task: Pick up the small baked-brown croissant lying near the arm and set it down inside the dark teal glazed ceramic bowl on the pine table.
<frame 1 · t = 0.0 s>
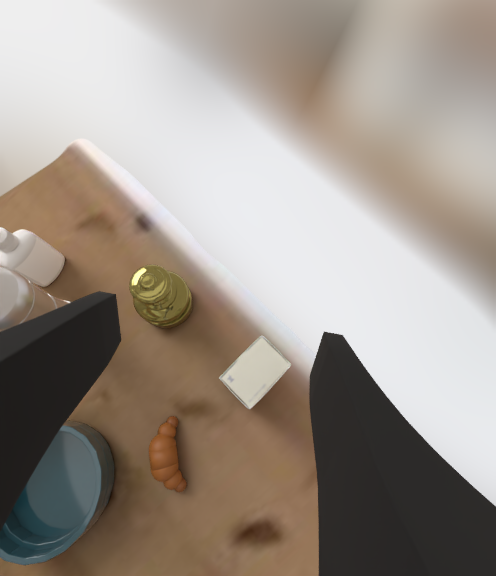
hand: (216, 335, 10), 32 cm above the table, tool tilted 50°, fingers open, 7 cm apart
gold tiered knob: (168, 304, 44), on the table
eye dropper bottle: (51, 270, 46), on the table
plastic bottle: (76, 329, 43), on the table
croissant: (167, 454, 38), on the table
cosmetic box: (252, 377, 41), on the table
bowl: (61, 479, 37), on the table
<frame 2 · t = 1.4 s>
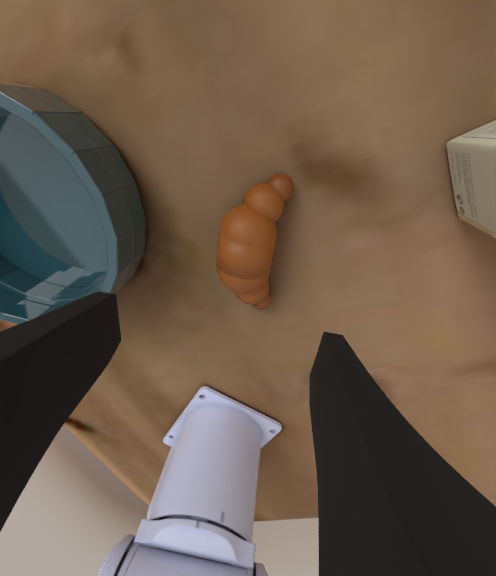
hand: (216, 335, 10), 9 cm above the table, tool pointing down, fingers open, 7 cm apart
croissant: (249, 240, 19), on the table
bowl: (49, 207, 19), on the table
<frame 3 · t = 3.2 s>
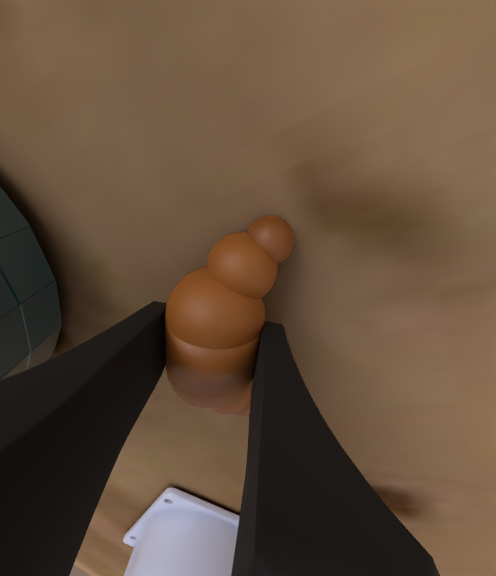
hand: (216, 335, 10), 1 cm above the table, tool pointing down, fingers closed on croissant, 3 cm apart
croissant: (223, 312, 12), on the table, touching gripper
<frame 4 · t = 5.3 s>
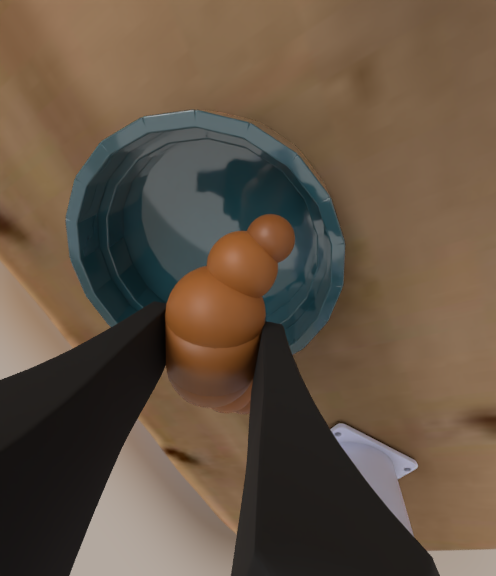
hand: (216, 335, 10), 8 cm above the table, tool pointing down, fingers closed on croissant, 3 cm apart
croissant: (223, 311, 12), point 7 cm above the table, touching gripper
bowl: (218, 242, 18), on the table
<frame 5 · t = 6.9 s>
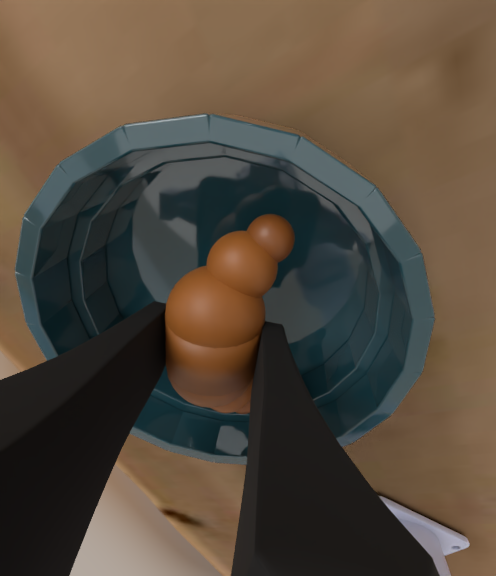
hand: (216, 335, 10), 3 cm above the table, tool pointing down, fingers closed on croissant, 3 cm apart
croissant: (223, 311, 12), point 2 cm above the table, touching gripper
bowl: (232, 287, 13), on the table
when the fingers open (2 cm above the table, at t = 7.7 s): croissant stays where it is, resting on bowl.
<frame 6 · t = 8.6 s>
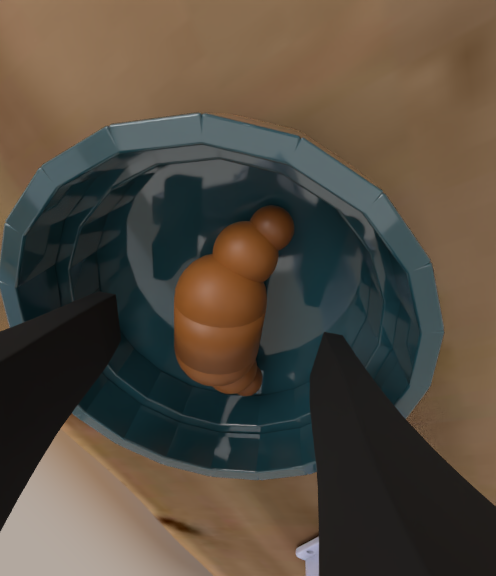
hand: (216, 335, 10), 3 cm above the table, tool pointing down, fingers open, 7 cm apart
croissant: (227, 299, 12), resting on bowl
bowl: (230, 294, 13), on the table
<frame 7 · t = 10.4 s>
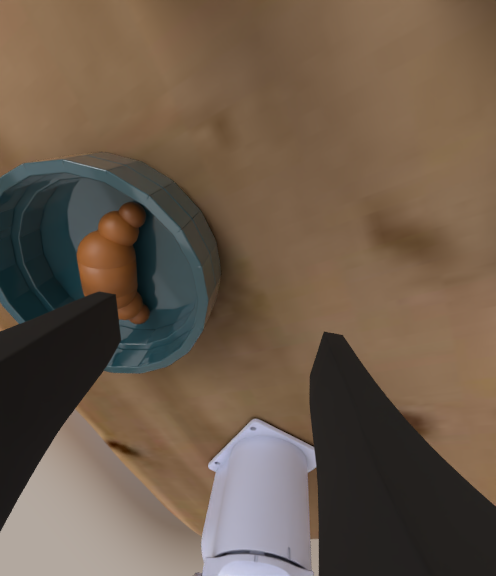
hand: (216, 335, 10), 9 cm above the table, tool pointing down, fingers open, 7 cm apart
croissant: (121, 260, 20), resting on bowl
bowl: (126, 258, 20), on the table
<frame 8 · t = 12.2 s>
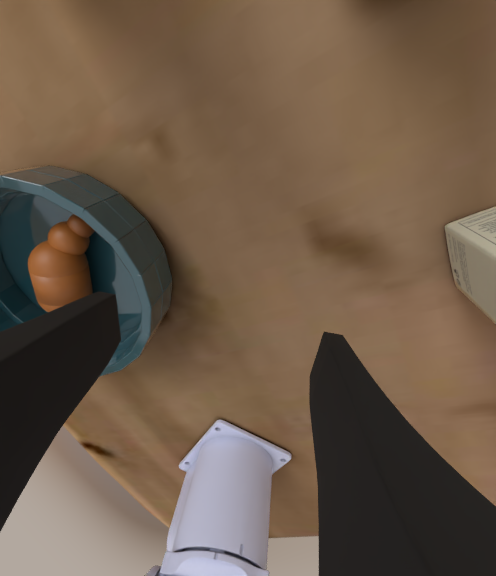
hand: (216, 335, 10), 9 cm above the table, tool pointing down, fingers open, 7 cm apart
croissant: (77, 268, 21), resting on bowl
bowl: (83, 266, 21), on the table
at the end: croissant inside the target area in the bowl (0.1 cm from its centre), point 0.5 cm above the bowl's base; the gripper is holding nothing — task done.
